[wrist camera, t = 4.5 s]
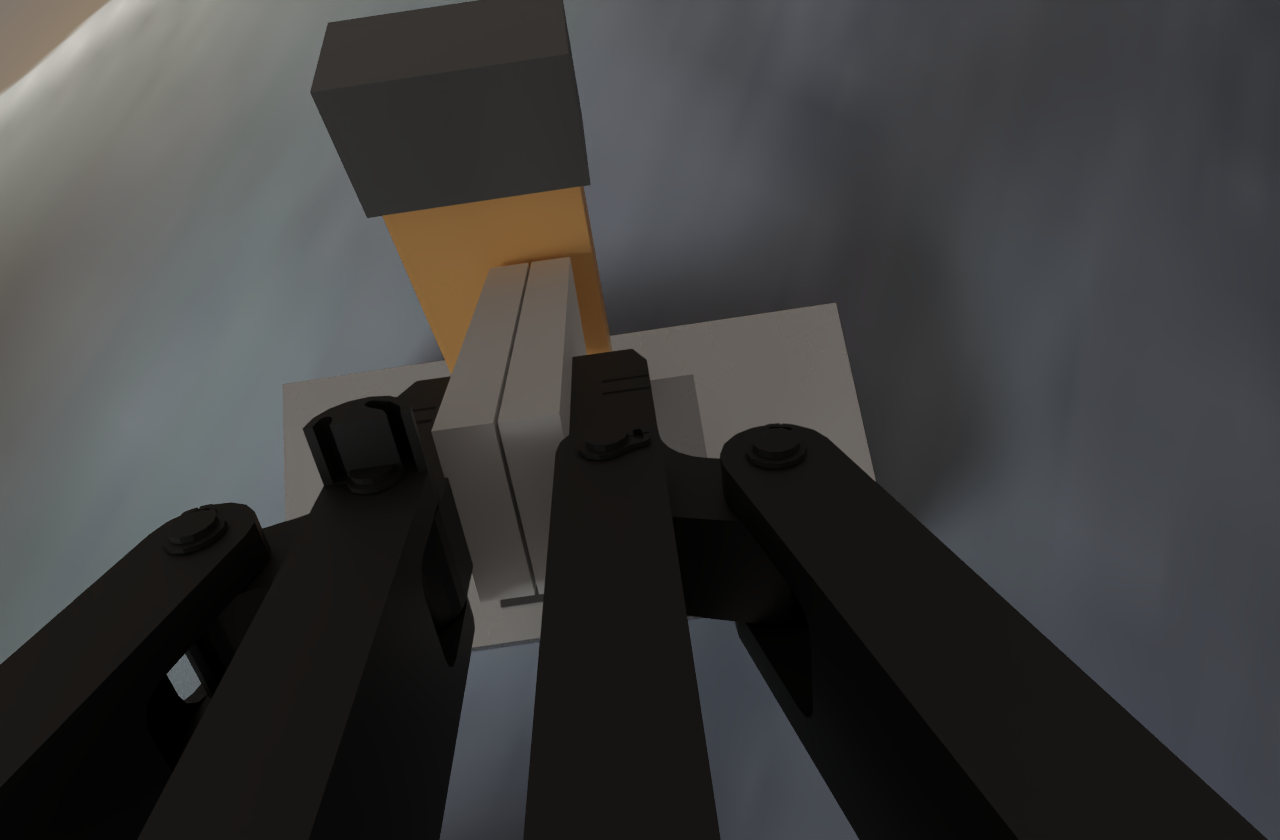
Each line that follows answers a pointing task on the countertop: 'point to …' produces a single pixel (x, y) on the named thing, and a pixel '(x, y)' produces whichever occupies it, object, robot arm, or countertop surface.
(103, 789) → the robot arm
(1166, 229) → the countertop surface
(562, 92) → the lever
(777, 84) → the countertop surface
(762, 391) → the breaker box
